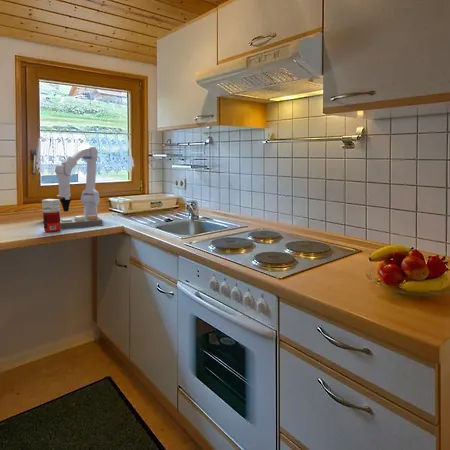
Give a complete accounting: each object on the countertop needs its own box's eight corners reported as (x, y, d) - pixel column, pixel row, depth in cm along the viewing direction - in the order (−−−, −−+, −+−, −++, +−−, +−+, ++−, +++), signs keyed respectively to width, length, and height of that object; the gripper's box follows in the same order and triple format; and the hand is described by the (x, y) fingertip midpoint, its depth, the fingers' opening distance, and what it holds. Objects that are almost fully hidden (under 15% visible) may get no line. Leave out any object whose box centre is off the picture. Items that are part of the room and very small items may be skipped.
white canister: (42, 221, 235) (41, 200, 233) (50, 219, 242) (49, 198, 240) (53, 221, 234) (51, 200, 231) (61, 219, 241) (59, 199, 238)
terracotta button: (87, 220, 227) (87, 215, 226) (95, 219, 229) (95, 214, 228) (89, 221, 223) (89, 216, 222) (97, 220, 225) (97, 215, 225)
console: (57, 225, 222) (57, 220, 221) (97, 221, 233) (97, 216, 233) (61, 228, 212) (60, 223, 211) (102, 225, 223) (102, 219, 223)
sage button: (62, 224, 220) (61, 219, 219) (70, 224, 222) (70, 218, 221) (63, 225, 216) (63, 220, 215) (71, 225, 218) (71, 219, 218)
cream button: (75, 221, 223) (74, 216, 222) (83, 220, 225) (82, 215, 225) (76, 222, 219) (76, 217, 219) (84, 221, 222) (84, 216, 221)
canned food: (64, 230, 208) (62, 209, 206) (53, 233, 200) (51, 211, 198) (52, 229, 210) (50, 209, 208) (41, 232, 203) (39, 211, 201)
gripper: (54, 186, 219) (56, 210, 222) (58, 188, 207) (60, 213, 209) (67, 185, 223) (69, 209, 225) (72, 187, 211) (74, 212, 213)
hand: (66, 211), depth 218 cm, fingers closed
